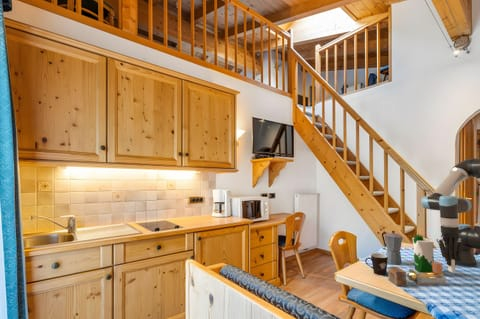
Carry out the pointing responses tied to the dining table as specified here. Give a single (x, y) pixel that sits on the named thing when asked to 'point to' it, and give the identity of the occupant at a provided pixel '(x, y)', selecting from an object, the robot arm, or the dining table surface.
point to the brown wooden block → (397, 276)
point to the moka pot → (393, 247)
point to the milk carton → (423, 254)
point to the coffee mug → (378, 263)
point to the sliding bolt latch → (427, 279)
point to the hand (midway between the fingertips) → (451, 271)
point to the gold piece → (436, 272)
